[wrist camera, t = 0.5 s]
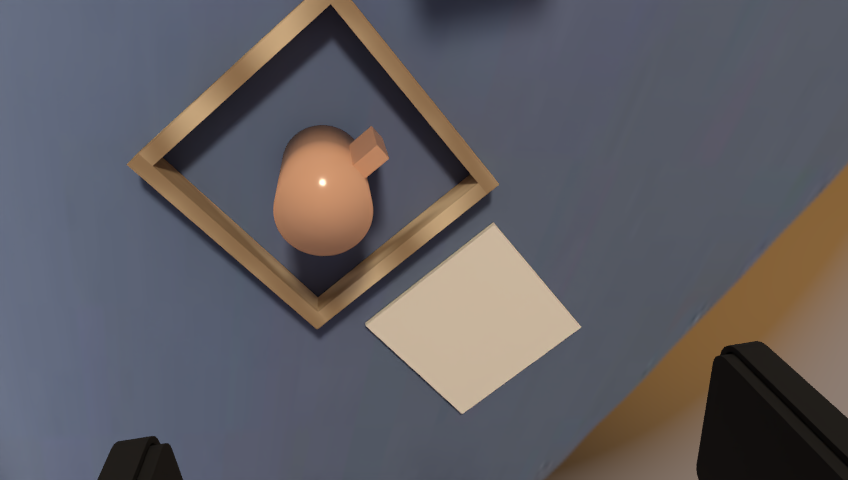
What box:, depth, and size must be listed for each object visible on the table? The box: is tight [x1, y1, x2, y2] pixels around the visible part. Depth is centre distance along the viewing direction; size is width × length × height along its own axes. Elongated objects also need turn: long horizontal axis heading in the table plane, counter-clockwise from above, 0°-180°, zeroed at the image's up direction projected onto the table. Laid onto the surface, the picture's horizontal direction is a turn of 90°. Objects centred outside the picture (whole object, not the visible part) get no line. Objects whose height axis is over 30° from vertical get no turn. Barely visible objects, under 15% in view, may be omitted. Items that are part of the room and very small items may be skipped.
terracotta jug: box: [273, 125, 389, 256], centre depth 35 cm, size 7×5×8 cm
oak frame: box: [127, 0, 499, 329], centre depth 38 cm, size 16×16×2 cm
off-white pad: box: [365, 223, 581, 414], centre depth 46 cm, size 12×12×1 cm
